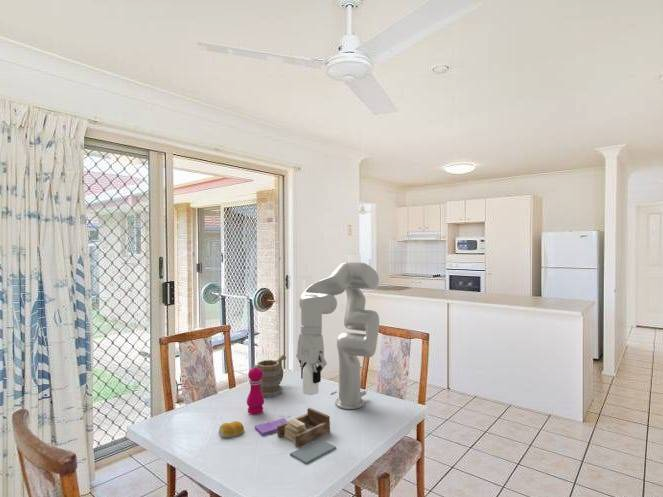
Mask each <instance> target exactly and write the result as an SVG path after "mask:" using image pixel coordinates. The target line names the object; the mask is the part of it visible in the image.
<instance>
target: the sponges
mask: <svg viewBox="0 0 663 497" xmlns="http://www.w3.org/2000/svg"><path fill="white" fill-rule="evenodd" d="M287 421H288V420H287V418H285V417H284V418H279V419H277V420H272V421H268V422H264V423H260V424H256V425H254V429H255V431H256V432H257V433H259V435H260V436H261V437H262V436H263V437H264V436H267V435H270V434H274V433H277V426H278V425H280V424H283V423H285V422H287Z"/></svg>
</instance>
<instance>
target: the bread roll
mask: <svg viewBox="0 0 663 497" xmlns="http://www.w3.org/2000/svg"><path fill="white" fill-rule="evenodd" d="M244 429H245V428H244V425H243V423H242V422H240V421H237V420H236V421H230V422H224V423H222V424H221V425H220V426H219V429H218V434H219V436H220V437H222V438H224V439H226V438H228V439H230V438H234V437H237V436H241V435H242V434H243V433H244Z"/></svg>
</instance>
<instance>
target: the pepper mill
mask: <svg viewBox="0 0 663 497" xmlns="http://www.w3.org/2000/svg"><path fill="white" fill-rule="evenodd" d="M257 367H258V366H257V364H254V365H253V366H252V368H251V369H249V371H248V378H249V384H250V390H249V394H248V396H247V399H246V405H247V406H248V408H247V413H248V415H252V416H253V415H261V414H262V413H263V412H264V407H263V405H264V403H265V397H263V395H262V392H261V389H260V384H261V383H262V382H261V378H262V376H263V372H262V370H261V369H259V368H257Z"/></svg>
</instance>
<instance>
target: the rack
mask: <svg viewBox="0 0 663 497" xmlns="http://www.w3.org/2000/svg"><path fill="white" fill-rule="evenodd" d="M330 417H331V416H330V415H328V414H325V413H323V412H321V411H318V410H316V409H313V408H312V407H308V408H307V413H305V414H303V415H300V416H298V417H296V418H294V419H297V420H299V421H300V422H302V423H304V424H305V427H307V426H311V427H310V428H308V429H306V431H304V432H301V433H299V434H297V435H296V442H295V447H296V448H301V447H303V446H305V445H307V444H309V443H312V442H314V441H316V439H317V440H318V439H320V438H321V437H323V436H325V435H327V434H329V433H330V431H331V421H330ZM285 426H287V422H285V423H283V424H280V425H278V426H277V432H276V434H277V437H278V438H282V437H285Z"/></svg>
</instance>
